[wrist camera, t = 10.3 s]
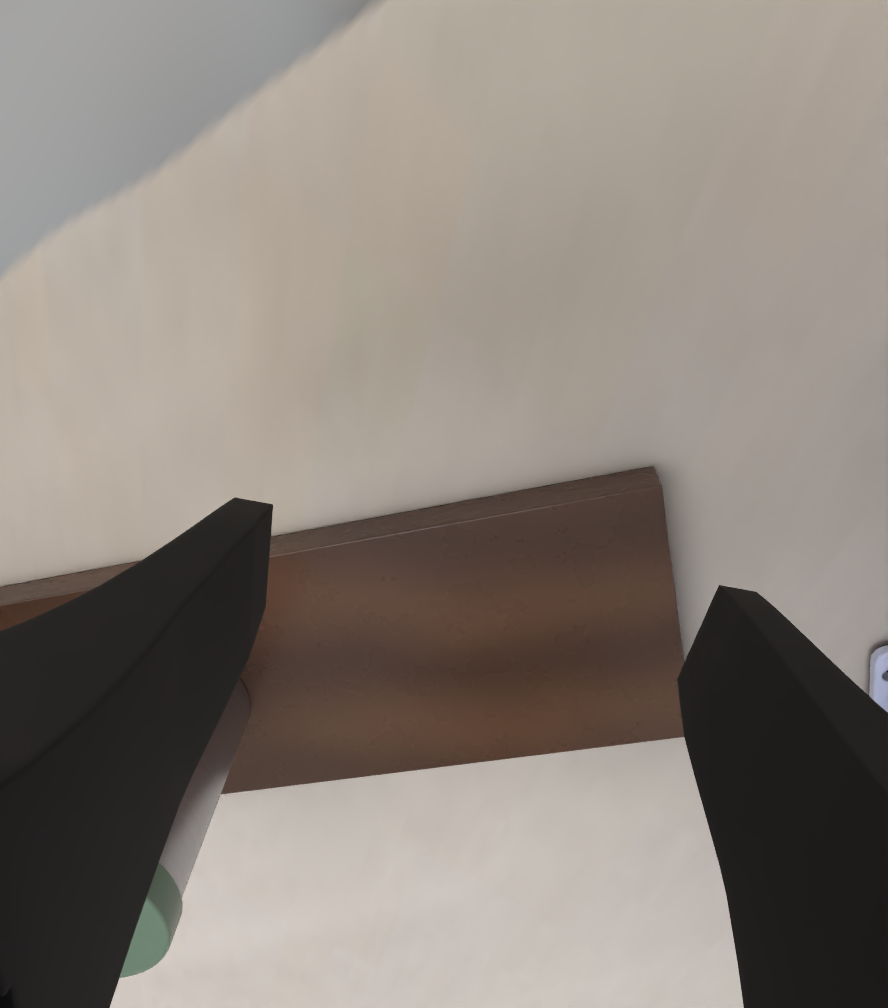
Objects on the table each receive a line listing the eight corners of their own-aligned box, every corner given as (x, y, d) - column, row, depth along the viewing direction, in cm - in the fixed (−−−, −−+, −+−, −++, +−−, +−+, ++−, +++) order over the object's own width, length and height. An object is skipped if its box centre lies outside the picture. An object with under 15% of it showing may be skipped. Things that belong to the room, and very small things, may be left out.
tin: (276, 740, 28) (202, 972, 21) (143, 758, 29) (29, 986, 22) (220, 627, 25) (113, 848, 18) (76, 651, 26) (-78, 870, 19)
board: (685, 710, 27) (693, 736, 26) (85, 788, 32) (71, 813, 31) (654, 465, 23) (661, 485, 22) (-49, 595, 27) (-72, 617, 26)
